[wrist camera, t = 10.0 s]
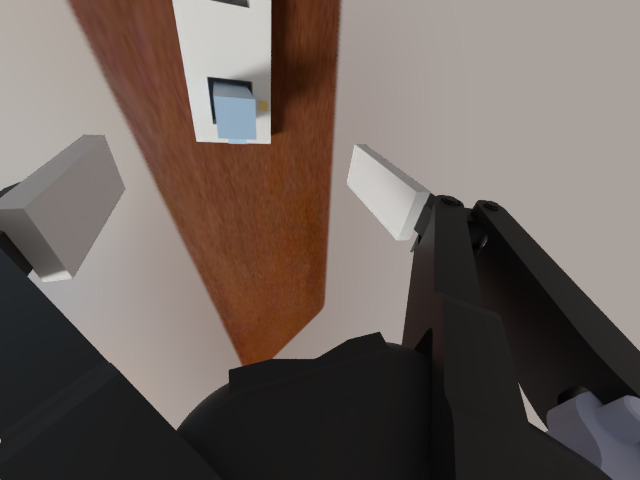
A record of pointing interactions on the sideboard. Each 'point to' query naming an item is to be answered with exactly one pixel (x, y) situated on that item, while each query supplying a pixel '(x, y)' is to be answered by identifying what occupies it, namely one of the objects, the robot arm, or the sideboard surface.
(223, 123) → the plug
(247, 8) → the panel
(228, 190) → the sideboard surface
